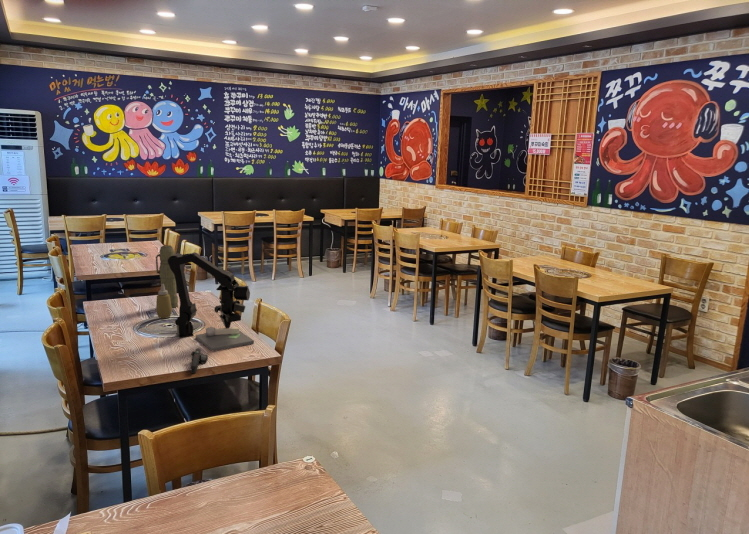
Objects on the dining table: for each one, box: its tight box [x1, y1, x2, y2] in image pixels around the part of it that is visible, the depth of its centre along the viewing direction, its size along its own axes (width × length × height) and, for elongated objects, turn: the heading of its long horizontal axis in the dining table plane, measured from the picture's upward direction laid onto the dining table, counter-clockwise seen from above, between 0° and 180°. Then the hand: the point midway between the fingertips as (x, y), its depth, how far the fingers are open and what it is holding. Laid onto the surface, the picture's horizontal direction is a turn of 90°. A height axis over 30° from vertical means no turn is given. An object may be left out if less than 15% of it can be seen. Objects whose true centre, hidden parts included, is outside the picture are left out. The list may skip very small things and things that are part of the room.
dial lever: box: [205, 326, 240, 336], centre depth 269 cm, size 15×4×3 cm, turn 103°
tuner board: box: [195, 330, 255, 352], centre depth 265 cm, size 20×22×2 cm
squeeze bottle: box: [155, 283, 173, 319], centre depth 298 cm, size 8×8×18 cm
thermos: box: [155, 244, 179, 309], centre depth 315 cm, size 9×12×35 cm
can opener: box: [190, 347, 209, 375], centre depth 233 cm, size 18×7×6 cm, turn 7°
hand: (227, 330), depth 271 cm, fingers closed
